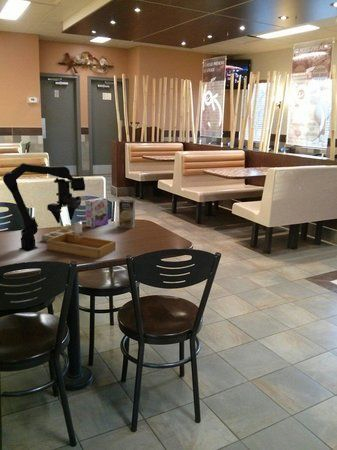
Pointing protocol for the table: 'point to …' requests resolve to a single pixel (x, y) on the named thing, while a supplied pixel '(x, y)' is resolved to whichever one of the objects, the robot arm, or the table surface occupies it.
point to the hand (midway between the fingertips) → (64, 221)
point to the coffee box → (127, 213)
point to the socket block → (55, 234)
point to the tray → (81, 246)
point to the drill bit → (78, 231)
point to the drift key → (65, 229)
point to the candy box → (96, 212)
